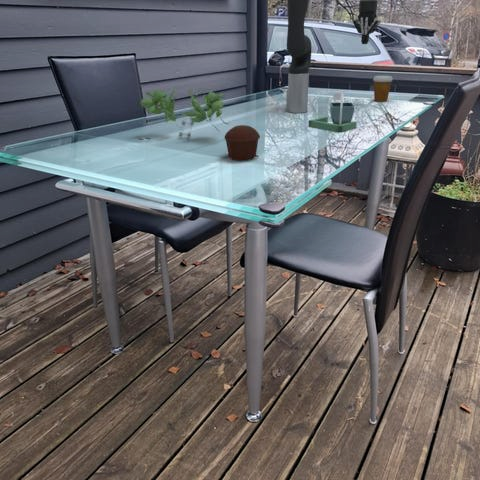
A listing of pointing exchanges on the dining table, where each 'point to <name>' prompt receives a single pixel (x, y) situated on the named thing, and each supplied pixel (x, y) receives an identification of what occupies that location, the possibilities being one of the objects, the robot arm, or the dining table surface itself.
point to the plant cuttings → (199, 114)
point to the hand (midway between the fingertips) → (364, 44)
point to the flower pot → (346, 112)
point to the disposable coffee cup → (382, 88)
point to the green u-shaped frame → (323, 123)
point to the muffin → (242, 142)
